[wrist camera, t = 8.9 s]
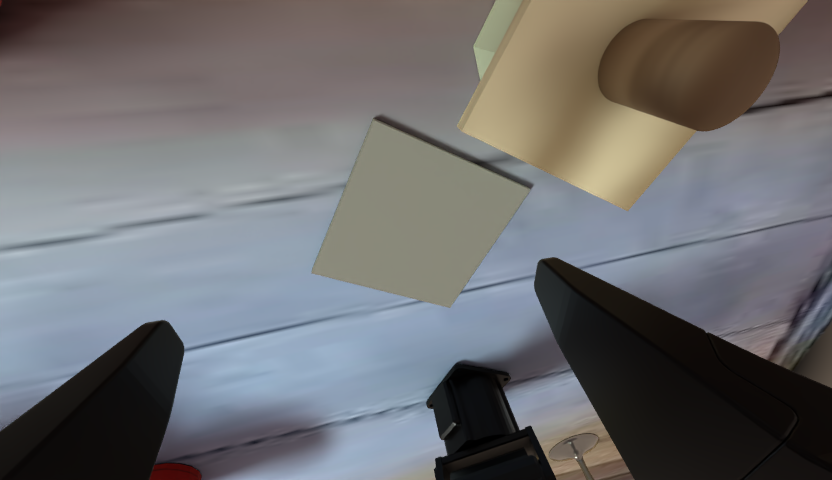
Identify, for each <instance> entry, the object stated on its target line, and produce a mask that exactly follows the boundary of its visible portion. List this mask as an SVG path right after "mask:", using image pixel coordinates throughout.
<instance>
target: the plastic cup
mask: <svg viewBox="0 0 832 480" xmlns="http://www.w3.org/2000/svg"><path fill="white" fill-rule="evenodd" d="M149 480H201V474H200V472H199V471H198V470H196V469H195V468H193V467H191V466H187V465H183V464H172V463H166V464H158V465H154V467H153V470H152V473H151V476H150V479H149Z"/></svg>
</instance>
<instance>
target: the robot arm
mask: <svg viewBox="0 0 832 480" xmlns="http://www.w3.org/2000/svg"><path fill="white" fill-rule="evenodd" d="M534 288H535V292H536V295H537V297H538V299H539V302H540V304H541V306H542V309H543V311H544V313H545V316H546V318H547V320H548V323H549V325H550V327H551V330H552V332H553V334H554V337H555V339H556V341H557V343H558V345H559V347H560V349H561V351H562V352H563V354H564V356H565V358H566V359H567V361H568V363H569V365H570V367H571V368H572V370H573V372H574V374H575V375H576V377H577V379H578V381H579V382H580V384H581V386H582V388H583V389H584V391H585V393H586V395H587V397H588V398H589V400H590V402H591V404H592V405H593V407H594V409H595V411H596V412H597V414H598V416H599V418H600V419H601V421H602V423H603V425H604V427H605V428H606V430H607V432H608V434H609V435H610V437H611V439H612V441H613V442H614V444H615V446H616V448H617V449H618V451H619V453H620V455H621V457H622V458H623V460H624V462H625V464H626V465H627V467H628V469H629V471H630V472H631V474H632V476H633V478H634V479H635V480H832V388H830V387H828V386H825V385H823V384H821V383H818V382H816V381H814V380H811V379H809V378H807V377H804V376H802V375H800V374H798V373H795V372H793V371H791V370H788V369H786V368H784V367H782V366H779V365H777V364H775V363H773V362H770V361H768V360H766V359H764V358H761V357H759V356H757V355H755V354H753V353H751V352H749V351H747V350H744V349H742V348H740V347H738V346H736V345H734V344H732V343H730V342H728V341H726V340H724V339H721V338H719V337H717V336H715V335H713V334H711V333H709V332H707V333H706V332H705V331H704V330H703V329H701V328H699V327H697V326H695V325H693V324H691V323H689V322H687V321H685V320H683V319H681V318H679V317H676V316H674V315H672V314H670V313H668V312H666V311H664V310H662V309H660V308H658V307H656V306H654V305H652V304H650V303H648V302H646V301H644V300H642V299H640V298H638V297H636V296H634V295H632V294H630V293H628V292H626V291H624V290H621V289H619V288H617V287H615V286H613V285H611V284H609V283H607V282H605V281H603V280H601V279H599V278H597V277H595V276H593V275H591V274H589V273H587V272H585V271H583V270H581V269H579V268H577V267H575V266H573V265H571V264H568V263H566V262H564V261H562V260H560V259H558V258H555V257H552V258H545V259H541V260H540V261H539V262H538V264H537V270H536V276H535V282H534ZM183 356H184V345H183V342H182V341H181V339H180V338H179V336H178V335H177V333H176V332H175V330H174V329H173V327H172V326H171V325H170V323H169V322H167V321H165V320H160V321H154V322H148V323H145V324H143V325H141V326H140V327H139V328H137V329H136V330H135V331H133V332H132V333H131V334H129V335H128V336H127V337H125V338H124V339H123V340H121V341H120V342H119V343H117V344H116V345H115V346H113V347H112V348H111V349H109V350H108V351H107V352H105V353H104V354H103V355H101V356H100V357H99V358H97V359H96V360H95V361H93V362H92V363H91V364H89V365H88V366H87V367H85V368H84V369H83V370H81V371H80V372H79V373H77V374H76V375H75V376H73V377H72V378H71V379H70V380H68V381H67V382H66V383H64V384H63V385H62V386H60V387H59V388H58V389H56V390H55V391H54V392H52V393H51V394H50V395H48V396H47V397H46V398H44V399H43V400H42V401H40V402H39V403H38V404H36V405H35V406H34V407H32V408H31V409H30V410H28V411H27V412H26V413H24V414H23V415H22V416H20V417H19V418H18V419H16V420H15V421H14V422H12V423H11V424H10V425H8V426H7V427H6V428H4V429H3V430H2V431H0V480H149V479H150V476H151V473H152V470H153V467H154V464H155V461H156V458H157V455H158V452H159V449H160V446H161V443H162V440H163V437H164V434H165V431H166V428H167V425H168V422H169V418H170V415H171V411H172V407H173V402H174V398H175V393H176V388H177V384H178V379H179V374H180V370H181V365H182V361H183ZM510 379H511V377H510V375H509V373H506V372H500V371H495V370H489V369H484V368H478V367H473V366H467V365H462V364H457V365H455V366H454V367H453V368H452V369H451V371H450V372H449V373H448V374H447V376H446V377H445V378H444V380H443V381H442V382H441V383H440V385H439V386H438V387H437V389H436V390H435V391H434V393H433V394H432V395H431V396H430V398H429V399H428V400H427V402H426V404H427V407H428V408H430V409H434V414H435V418H436V423H437V427H438V432H439V436H440V438H441V440H444V442H445V446H446V451H447V456H444V457H438V458H435V461H436V468H435V469H434V472H435V478H436V480H556V478H555V475H554V473H553V471H552V469H551V467H550V465H549V463H548V460H547V458H546V456H545V454H544V452H543V450H542V448H541V446H540V444H539V442H538V440H537V437H536V435H535V433H534V431H533V429H532V427H531V426H528V427H525V429H523V430H519V427H518V425H517V422H516V420H515V417H514V415H513V413H512V410H511V408H510V405H509V403H508V400H507V398H506V396H505V393H504V391H503V387H504V386H505V385H506V384H507V383H508V382H509V380H510Z"/></svg>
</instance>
